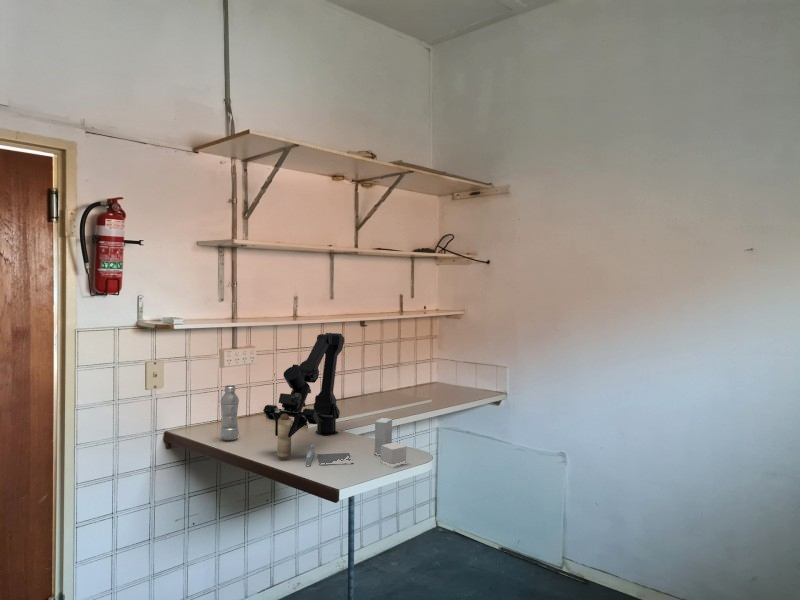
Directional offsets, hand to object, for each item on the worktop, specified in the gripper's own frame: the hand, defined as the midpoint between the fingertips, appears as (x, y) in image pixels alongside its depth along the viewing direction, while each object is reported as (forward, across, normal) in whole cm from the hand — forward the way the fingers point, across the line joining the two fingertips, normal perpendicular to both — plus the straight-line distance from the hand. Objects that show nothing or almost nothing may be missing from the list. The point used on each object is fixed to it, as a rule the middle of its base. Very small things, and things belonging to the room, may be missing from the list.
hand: (282, 436), depth 194 cm
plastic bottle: (-4, -30, +16) cm, 34 cm away
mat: (+1, +16, +10) cm, 19 cm away
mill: (+4, 0, +6) cm, 7 cm away
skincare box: (-7, +29, +19) cm, 36 cm away
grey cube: (-1, +36, +13) cm, 38 cm away
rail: (+3, +8, +8) cm, 12 cm away
